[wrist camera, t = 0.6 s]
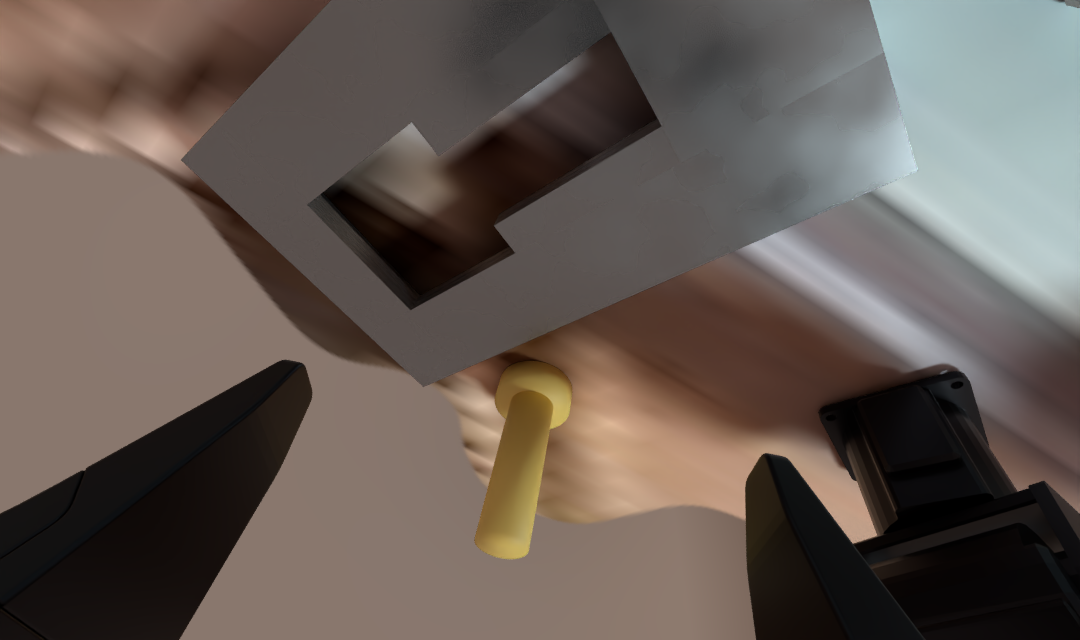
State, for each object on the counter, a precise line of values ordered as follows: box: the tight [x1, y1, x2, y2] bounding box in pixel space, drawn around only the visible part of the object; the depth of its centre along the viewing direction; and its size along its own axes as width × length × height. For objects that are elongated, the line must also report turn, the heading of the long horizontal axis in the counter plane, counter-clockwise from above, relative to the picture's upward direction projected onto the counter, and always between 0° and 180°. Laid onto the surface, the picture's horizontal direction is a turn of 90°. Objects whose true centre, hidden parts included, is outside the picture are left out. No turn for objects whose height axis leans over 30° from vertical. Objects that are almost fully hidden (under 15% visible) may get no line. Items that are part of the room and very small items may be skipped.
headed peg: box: [474, 361, 572, 559], centre depth 26 cm, size 4×4×9 cm
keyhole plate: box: [181, 0, 918, 387], centre depth 19 cm, size 14×22×3 cm, turn 125°
